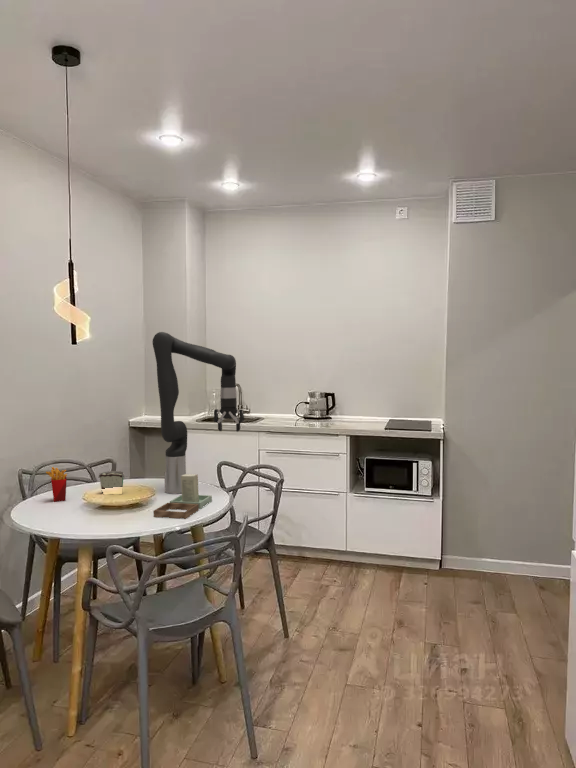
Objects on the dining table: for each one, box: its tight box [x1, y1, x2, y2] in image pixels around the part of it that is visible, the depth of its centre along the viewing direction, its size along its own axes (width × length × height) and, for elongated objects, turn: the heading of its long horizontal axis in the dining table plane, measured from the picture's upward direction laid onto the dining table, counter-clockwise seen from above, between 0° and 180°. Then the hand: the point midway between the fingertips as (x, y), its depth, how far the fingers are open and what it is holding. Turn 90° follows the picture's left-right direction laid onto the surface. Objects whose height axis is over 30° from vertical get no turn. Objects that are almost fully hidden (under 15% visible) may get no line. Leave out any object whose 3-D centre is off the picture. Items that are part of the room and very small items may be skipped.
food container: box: [98, 470, 126, 489], centre depth 283 cm, size 12×6×10 cm, turn 84°
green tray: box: [169, 494, 213, 510], centre depth 260 cm, size 14×13×2 cm
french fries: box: [45, 466, 68, 503], centre depth 269 cm, size 9×8×15 cm
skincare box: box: [181, 473, 200, 502], centre depth 260 cm, size 6×4×12 cm
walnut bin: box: [153, 502, 200, 520], centre depth 246 cm, size 14×13×2 cm
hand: (229, 431), depth 284 cm, fingers open, 8 cm apart
